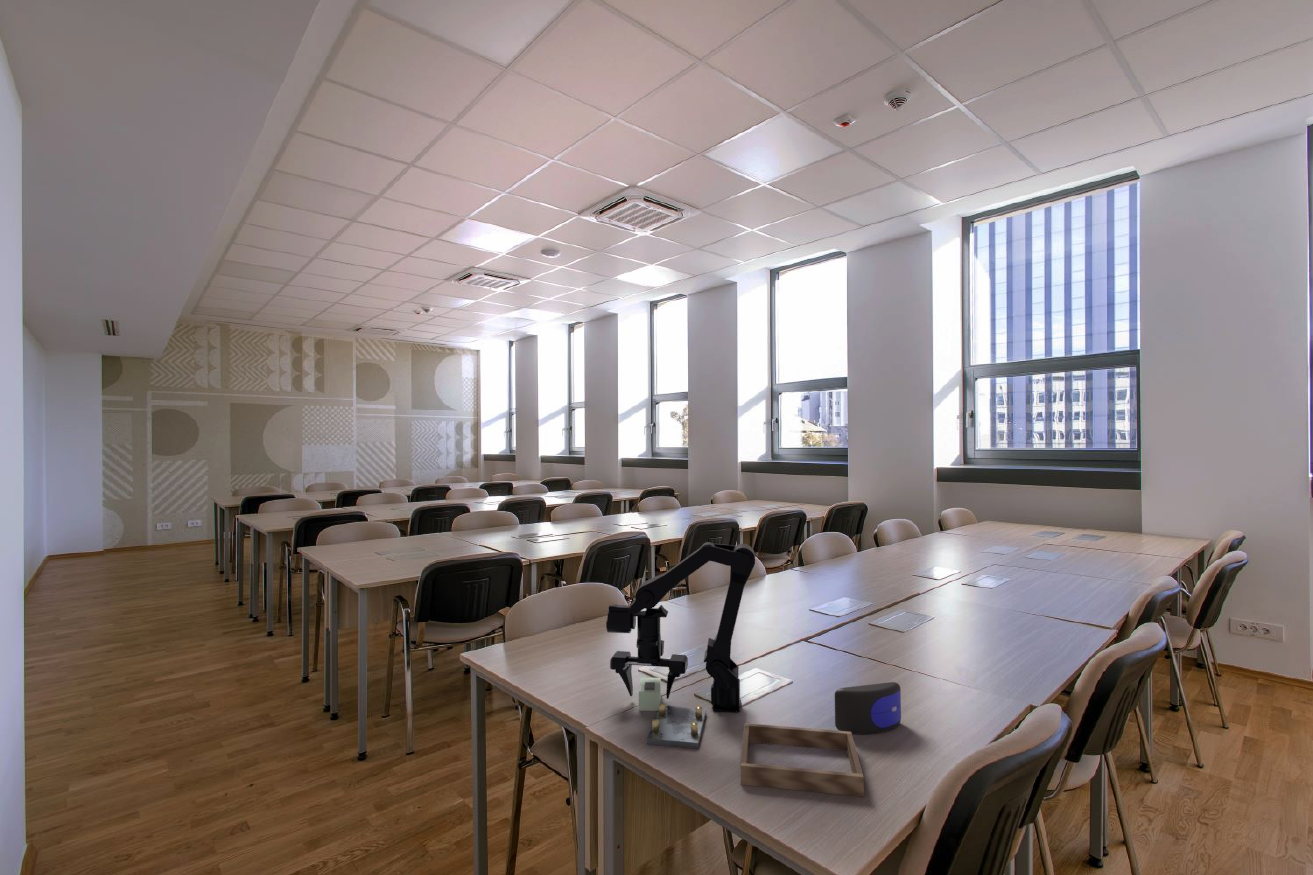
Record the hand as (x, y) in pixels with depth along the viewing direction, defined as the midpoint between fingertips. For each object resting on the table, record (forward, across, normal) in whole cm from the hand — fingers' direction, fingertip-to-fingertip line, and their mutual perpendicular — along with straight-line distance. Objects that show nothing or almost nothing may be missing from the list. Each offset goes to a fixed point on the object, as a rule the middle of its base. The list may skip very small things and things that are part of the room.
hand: (649, 696), depth 146 cm
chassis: (+1, -9, +12) cm, 15 cm away
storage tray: (+1, -35, +23) cm, 42 cm away
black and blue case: (+2, -51, +4) cm, 51 cm away
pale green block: (+2, 0, 0) cm, 2 cm away
